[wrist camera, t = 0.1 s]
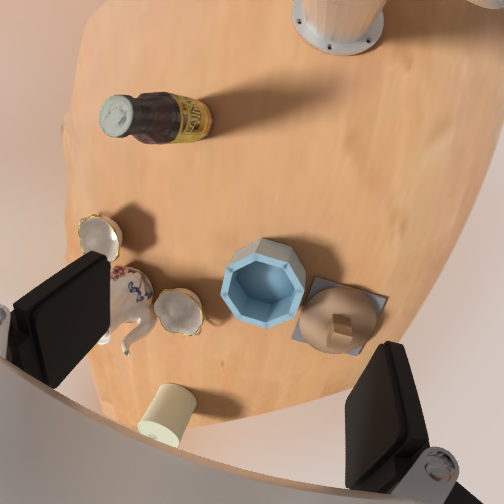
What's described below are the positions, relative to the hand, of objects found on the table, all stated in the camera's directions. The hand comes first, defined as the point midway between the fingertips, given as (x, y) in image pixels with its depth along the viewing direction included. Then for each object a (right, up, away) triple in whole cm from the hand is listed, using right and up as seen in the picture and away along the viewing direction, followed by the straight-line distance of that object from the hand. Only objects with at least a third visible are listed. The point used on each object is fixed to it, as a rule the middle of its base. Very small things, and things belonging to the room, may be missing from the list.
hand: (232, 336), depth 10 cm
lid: (+14, -8, +40) cm, 43 cm away
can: (-16, -29, +55) cm, 65 cm away
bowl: (+3, -1, +40) cm, 40 cm away
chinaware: (-19, -2, +45) cm, 49 cm away
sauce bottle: (-8, +22, +33) cm, 40 cm away
